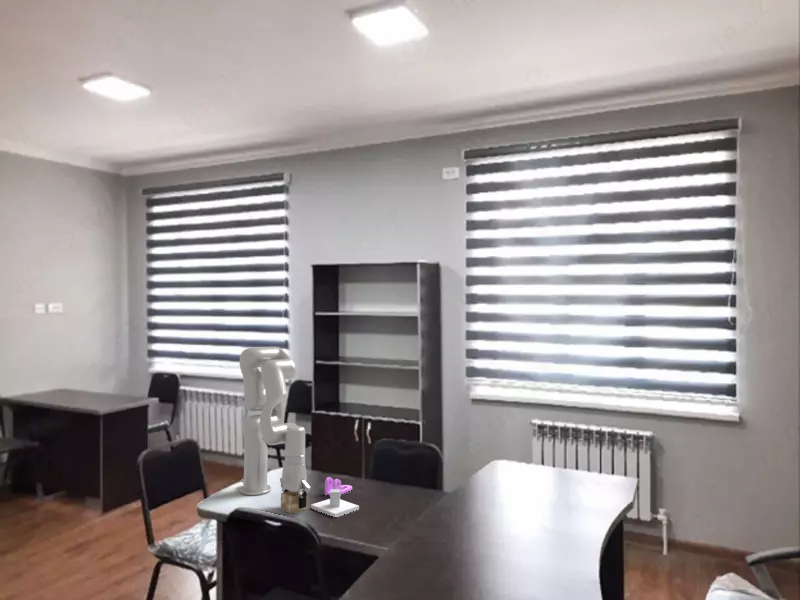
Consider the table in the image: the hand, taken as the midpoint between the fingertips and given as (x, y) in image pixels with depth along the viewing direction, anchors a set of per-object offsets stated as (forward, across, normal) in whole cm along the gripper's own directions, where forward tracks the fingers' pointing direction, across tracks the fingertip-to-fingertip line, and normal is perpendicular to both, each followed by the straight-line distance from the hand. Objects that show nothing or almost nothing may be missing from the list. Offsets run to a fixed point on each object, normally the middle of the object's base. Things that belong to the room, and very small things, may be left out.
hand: (294, 504), depth 215 cm
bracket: (+2, -3, +26) cm, 26 cm away
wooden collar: (+2, 0, 0) cm, 2 cm away
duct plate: (+2, +11, +11) cm, 15 cm away
